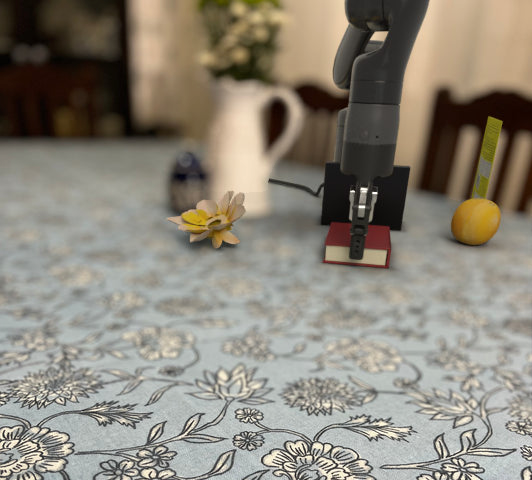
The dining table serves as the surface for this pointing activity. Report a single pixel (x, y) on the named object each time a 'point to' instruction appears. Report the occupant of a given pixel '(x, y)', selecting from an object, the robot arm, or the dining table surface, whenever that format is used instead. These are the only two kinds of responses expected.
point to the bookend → (385, 207)
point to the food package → (486, 158)
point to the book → (374, 249)
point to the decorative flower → (212, 219)
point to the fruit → (475, 221)
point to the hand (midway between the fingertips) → (355, 258)
